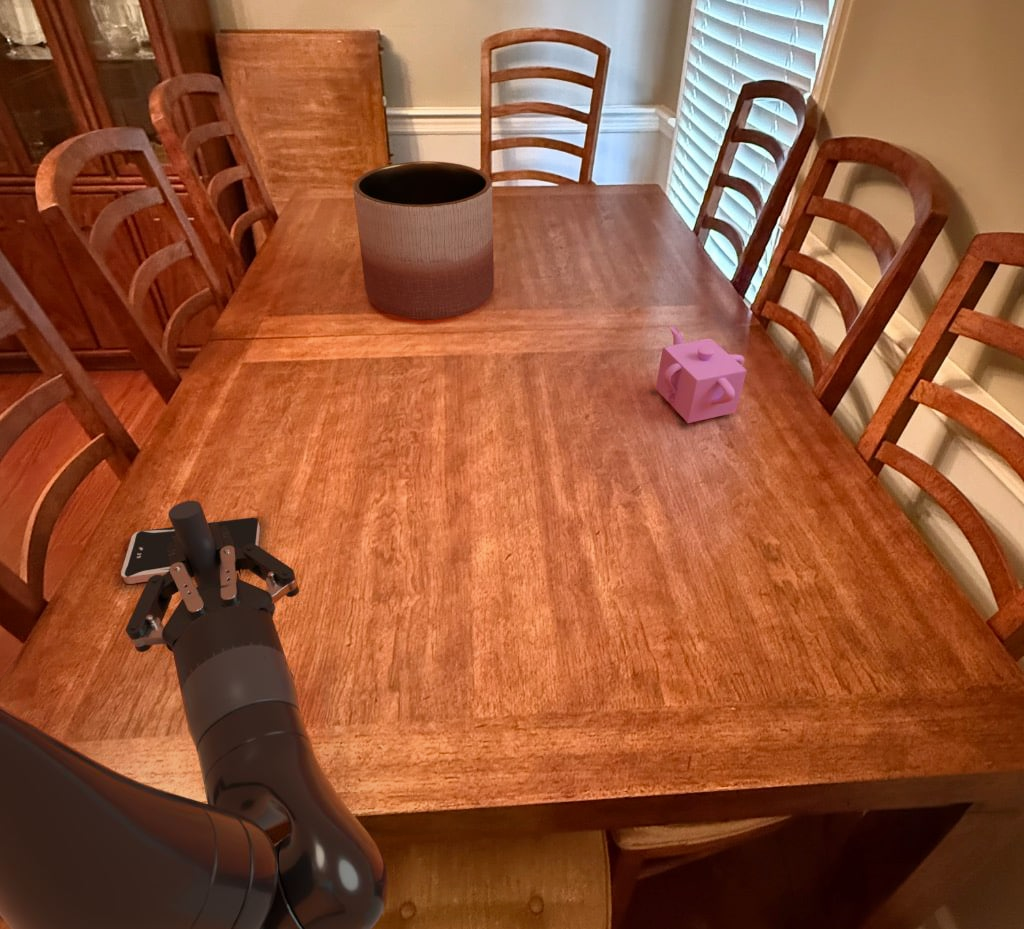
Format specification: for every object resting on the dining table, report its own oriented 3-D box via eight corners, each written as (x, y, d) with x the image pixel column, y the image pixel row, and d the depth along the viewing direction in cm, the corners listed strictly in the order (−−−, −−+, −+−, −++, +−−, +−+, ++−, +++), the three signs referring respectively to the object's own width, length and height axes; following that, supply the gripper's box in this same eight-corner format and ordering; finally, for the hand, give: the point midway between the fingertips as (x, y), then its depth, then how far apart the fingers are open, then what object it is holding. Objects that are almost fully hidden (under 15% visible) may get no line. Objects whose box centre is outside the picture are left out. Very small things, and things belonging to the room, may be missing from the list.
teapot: (629, 380, 116) (637, 326, 110) (701, 365, 120) (713, 312, 113) (685, 443, 103) (698, 385, 97) (764, 424, 107) (781, 368, 100)
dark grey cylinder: (225, 626, 63) (183, 521, 57) (204, 618, 64) (161, 514, 58) (245, 607, 65) (207, 504, 59) (225, 600, 66) (185, 497, 60)
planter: (360, 274, 146) (345, 165, 132) (478, 262, 151) (475, 156, 137) (374, 332, 127) (359, 212, 113) (508, 316, 133) (509, 200, 118)
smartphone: (253, 560, 83) (119, 578, 81) (255, 568, 84) (123, 585, 81) (258, 516, 89) (133, 531, 86) (260, 524, 90) (136, 539, 87)
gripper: (321, 617, 52) (265, 481, 63) (117, 696, 46) (97, 532, 58) (336, 674, 56) (282, 538, 68) (153, 752, 51) (128, 590, 63)
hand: (197, 536), depth 63 cm, fingers closed on dark grey cylinder, 2 cm apart
